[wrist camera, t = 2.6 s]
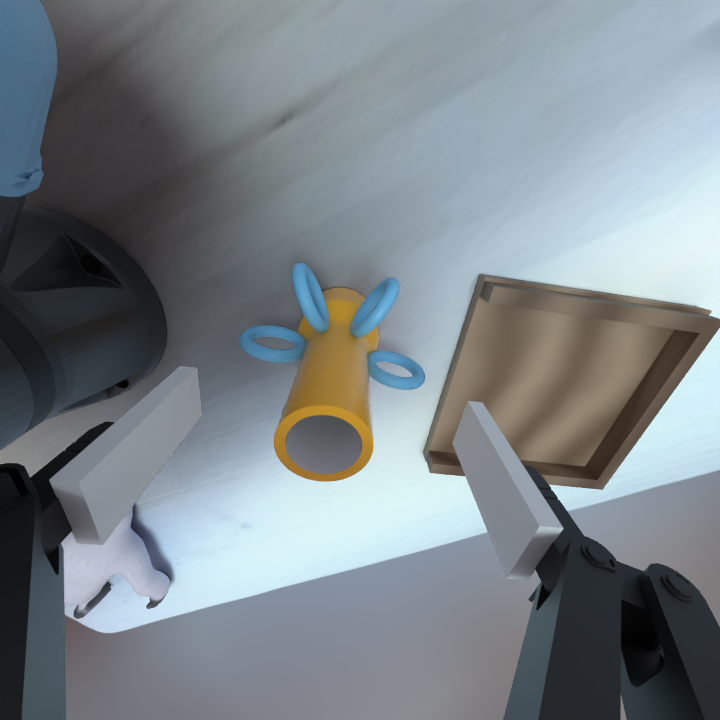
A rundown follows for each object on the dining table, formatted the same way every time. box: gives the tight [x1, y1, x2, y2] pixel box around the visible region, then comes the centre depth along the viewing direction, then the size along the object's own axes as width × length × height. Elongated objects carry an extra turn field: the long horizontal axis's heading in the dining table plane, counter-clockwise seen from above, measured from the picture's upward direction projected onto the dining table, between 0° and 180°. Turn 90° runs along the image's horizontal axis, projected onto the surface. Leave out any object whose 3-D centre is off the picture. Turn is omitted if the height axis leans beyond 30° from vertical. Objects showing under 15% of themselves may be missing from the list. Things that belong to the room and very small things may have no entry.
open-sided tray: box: [423, 274, 720, 490], centre depth 27 cm, size 19×19×3 cm
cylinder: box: [239, 263, 425, 481], centre depth 19 cm, size 12×10×15 cm
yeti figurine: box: [61, 507, 170, 619], centre depth 37 cm, size 20×7×20 cm
